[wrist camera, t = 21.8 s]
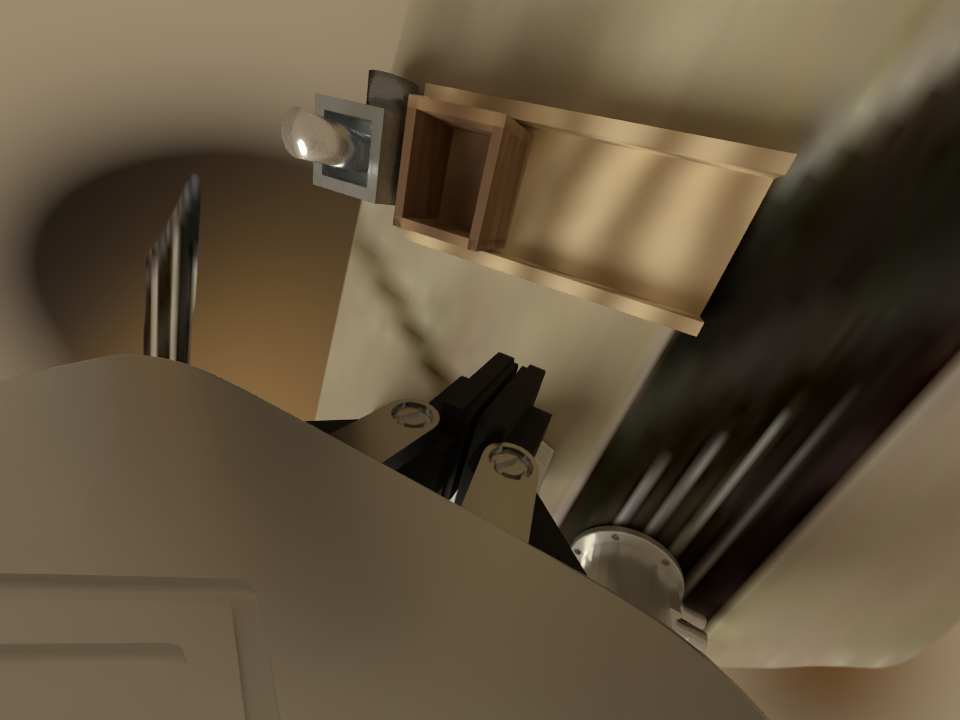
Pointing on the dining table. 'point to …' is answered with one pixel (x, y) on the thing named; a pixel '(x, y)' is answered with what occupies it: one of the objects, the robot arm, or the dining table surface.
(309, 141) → the pin
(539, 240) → the tray
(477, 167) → the crate
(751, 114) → the dining table surface
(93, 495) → the robot arm
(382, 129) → the grey hollow block
